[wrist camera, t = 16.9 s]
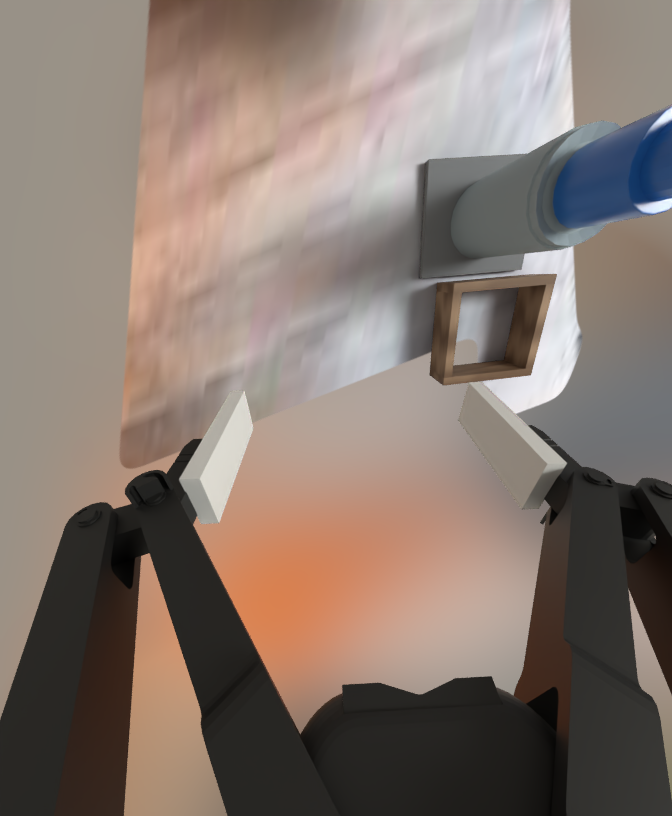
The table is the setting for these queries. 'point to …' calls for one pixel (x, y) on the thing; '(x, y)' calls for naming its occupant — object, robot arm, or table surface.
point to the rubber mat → (439, 202)
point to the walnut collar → (521, 336)
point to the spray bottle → (568, 189)
